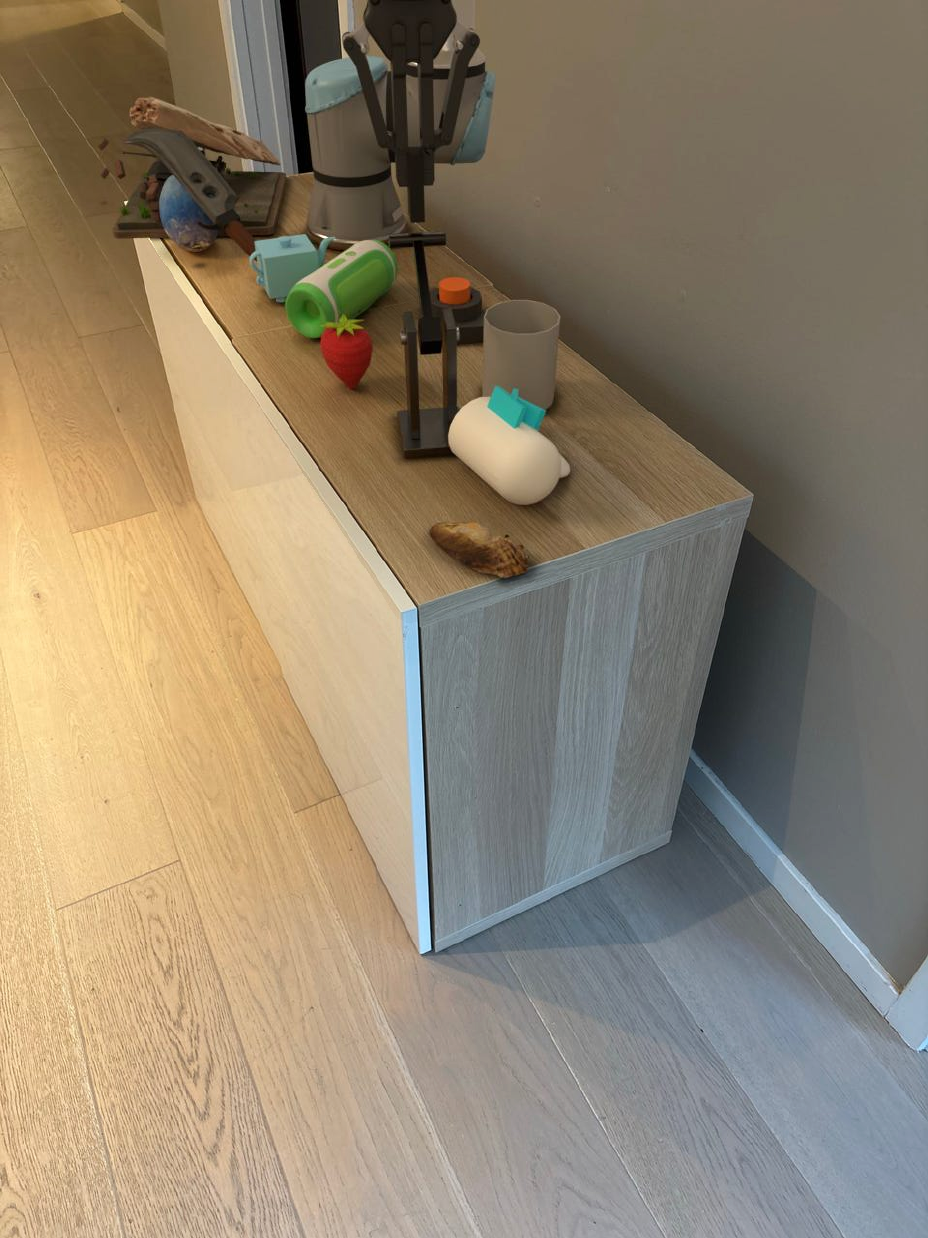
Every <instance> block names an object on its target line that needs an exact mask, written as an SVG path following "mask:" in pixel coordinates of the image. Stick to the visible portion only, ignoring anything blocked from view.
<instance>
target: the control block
mask: <svg viewBox="0 0 928 1238" xmlns="http://www.w3.org/2000/svg"><path fill="white" fill-rule="evenodd" d="M430 297H431V305H432V312H433V317H439V318H440V325H441V333H442V309H450V308H451V310H452V314H453V317H454V321H455V324H456V327H458V328H459V333H460V340H459V341H457V344H469V343H481V342H482V343H483V341H484V316H485V314H484V312H483V296H482V294H481V291H480V290H478V289H476V288H475V287H472V286H470V301H469V302H466V303H463V304H447V303H443V302H441V301H440V300H439V286H438V287H435V288H433V289H432V290H430Z"/></svg>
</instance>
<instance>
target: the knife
mask: <svg viewBox="0 0 928 1238" xmlns="http://www.w3.org/2000/svg"><path fill="white" fill-rule="evenodd" d="M132 133H133V134H132ZM132 133H131V134H132V135H129V136H127V138H126V139H125V140H123V142H122V144H125V145H133V146H138V147H140V148H142V149H145V150H147V151H148V152H149V153H150V154H154V155H155V156H156V157H157V158H159V159H160V160H161V161H162V162H163V163H164V165H165V166H166V167H167V168H168V169H169V171H170V172H171V173H172V174H173V175H174V177H175V178H176V179H177V180H178V181H179V183H180V184H181V185H182V186H183V187H184V189H185V190H186V191H187V192H188V193H189V195H190V196H191V197H192V198H193V199H194V201H195V202H196V203H197V204H198V205H199V207H200V208H201V209H202V210H203V211H204V213H205V214H206V215H207V216H208V217H209V219H210V220H211V221H212V222H213V223H214V224H213V225H205V224H203V223H202V221H198V224H197V225H198V226H200V227H201V228H203V229H206V230H217V231H218V233H220V234H222V235H225V234H228V235H229V236H228V237H230V239H231V240H232V241H233V242H234V243H235V244H236V245H237V246H238V247H239V248H240V249H241V250H242V251H243V252H244V254H246V255H247V256H248V257H250V256H251V255H252V253H254V252H255V251H256V249H255V243H254V242H255V241H257V240H256V239H255V237H254V236H253V235H251V234H250V233H249V232H248V231H247V230H246V228H245V227H244V226H243V225H242V224H241V223H240V216H239V215H238V214H237V213H236V211H235V210H234V207H235V204H236V202H237V201H238V199H239V197H238V196H237V195H236V193H235V192H234V191H233V190H232V188H231V187H230V186H229V184H228V183H227V182H226V181H225V179H224V178H223V177H222V176H221V175H220V173H219V172H218V171H217V170H216V169H215V167H214V166H213V165H212V164H211V163H210V161H209V160H210V159H208V158H207V157H206V155H205V156H204V154H203V153H202V152H201V151H200V150H201V149H199V147H197V146H196V145H195V144H194V143H193V141H192V140H191V139H190V138H189V137H188V136H187V135H186V134H185V133H184V132H183V131H180V130H171V129H161V128H148V129H139V130H137V131H135V132H132ZM157 158H156V159H157ZM195 182H200V183H195ZM207 195H213V196H214V197H215V198H209V197H207ZM255 261H256V262H257V257H255V259H254V262H255Z"/></svg>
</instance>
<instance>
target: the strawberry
mask: <svg viewBox="0 0 928 1238" xmlns="http://www.w3.org/2000/svg"><path fill="white" fill-rule="evenodd" d="M335 309H336V308H335ZM336 310H337V309H336ZM337 311H339V310H337ZM339 312H340V311H339ZM340 313H341V312H340ZM341 314H342V313H341ZM342 315H343V316H342V317H341V318H340V319H339V321H340V322H338V323H335V322H334V323H332V322H325V324H324V325H319V326H318V327H323V328H326V330H325V331H324V332H323V334H322V336H321V337H320V351H321V355H322V357H323V359H324V361H325V364H326V365H327V367H328V369H329V370H331V372H332V373H333V374H334V375H335V377H336V378H337V379H338V380H340V381H341V382H342V383H343V384H344V385H345V387H346V388H347V389H351V390H353V389H356V387H357V386H358V384H359V383H360V381H361V380H362V379H363V377H364V376H365V374H366V372H367V370H368V369H369V366H370V365H371V360H372V356H373V351H374V347H373V341H372V338H371V336H370V334H369V333H368V332H367V331H366V329H365V327H363V326H361V325H359V324H360V323H361V322H364V321H365V319H353V320H347V318H346V317H345V315H344V314H342Z"/></svg>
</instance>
